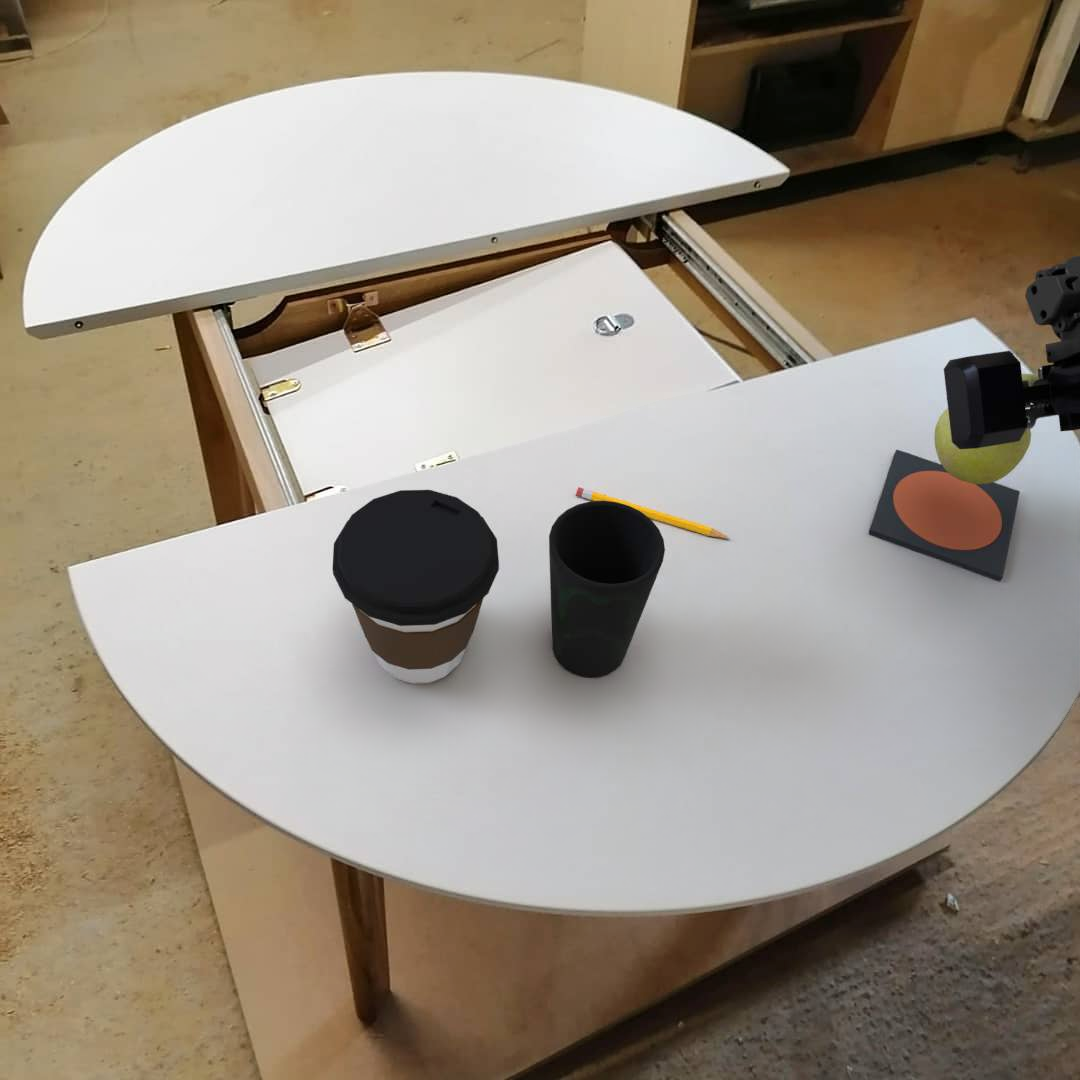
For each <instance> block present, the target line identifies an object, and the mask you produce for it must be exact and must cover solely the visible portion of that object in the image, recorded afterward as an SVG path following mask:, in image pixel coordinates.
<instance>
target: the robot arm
mask: <svg viewBox="0 0 1080 1080" xmlns="http://www.w3.org/2000/svg"><path fill="white" fill-rule="evenodd" d="M1034 279H1035V280H1034V281H1033V282H1032V283H1031V284H1029V285H1028V286H1027V287H1026V290H1025V294H1024V296H1025V300H1026V303H1027V305H1028V308H1029V310H1030V313H1031V315H1032V318H1033V321H1034V323H1035V324H1036V325H1038V326H1050V327H1051V329H1052V331H1053V333H1054V335H1055V336H1056V337H1057V338H1058V339H1059V340H1060V341H1055V342H1050V343H1045V353H1046V354H1045V355H1046V362H1047V363H1048V364H1046V365H1040V366H1038V368H1037V373H1038V377H1039V379H1037V380H1036V381H1035V382H1034V383H1033V385H1032V386H1029V384H1028V380H1024V381H1022V374H1023V373H1022V364H1021V361H1020V360H1019V359H1018V358H1017V357H1016V356H1015V355H1014V352H1012V351H1011V350H1005V351H998V352H997V351H996V352H990V353H989V352H988V353H984V354H976V355H969V356H963V357H958V358H954V359H949V361H948V362H947V364H946V365H945V366H944V368H943V375H944V377H943V378H944V385H945V393H946V402H947V408H948V412H949V421H950V429H951V438H952V443H953V444H954V445H955V446H957V447H958V448H959V449H974V448H982V447H988V446H994V445H1000V444H1006V443H1012V442H1018V441H1020V439H1021V438H1022V436H1023V434H1024V432H1025V431H1026V430H1029V429H1030V430H1031V429H1033V428H1034V427H1035V425H1036V423H1037V420H1038V419H1042V418H1049V417H1055V416H1058V422H1059V431H1060V432H1069V431H1077V430H1080V255H1076V256H1072V257H1069V258H1068V259H1066V260H1065V261H1064V262H1063V263H1056V264H1054V265H1053V266H1051V267H1050V268H1045V269H1039V270H1037V271H1036V273H1035V278H1034Z"/></svg>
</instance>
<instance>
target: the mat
mask: <svg viewBox="0 0 1080 1080" xmlns="http://www.w3.org/2000/svg"><path fill="white" fill-rule="evenodd" d="M894 451H895V452H894V454H893V456H892V461H891V463H890V466H889V469H888V472H887V475H886V478H885V481H884V484H883V488H882V491H881V494H880V496H879V500H878V502H877V506H876V509H875V512H874V515H873V518H872V521H871V524H870V527H869V530H868V532H867V533H868V535H870V536H873V537H875V538H878V539H881V540H884V541H887V542H889V543H892V544H895V545H897V546H901V547H903V548H906V549H909V550H912V551H914V552H917V553H919V554H923V555H925V556H927V557H931V558H933V559H937V560H940V561H942V562H945V563H947V564H951V565H953V566H955V567H959V568H961V569H964V570H967V571H969V572H970V571H971V572H972V573H976V574H978V575H981V576H984V577H986V578H989V579H992V580H995V581H998V582H1001V581H1002V579H1003V578H1004V573H1005V569H1006V563H1007V558H1008V553H1009V548H1010V542H1011V538H1012V532H1013V527H1014V522H1015V518H1016V512H1017V508H1018V502H1019V499H1020V498H1019V497H1020V492H1021V491H1020V490H1017V489H1015V488H1012V487H1009V486H1006V485H1003V484H1000V483H997V482H992V483H988V484H973V483H969V482H965V481H962V480H959V479H957V478H955V477H954V476H952V475H950V474H949V473H948V472H947V471H946V470H945V468H944V467H943V466H942V464H941V463H939V462H936V461H932V460H929V459H926V458H923V457H921V456H918V455H915V454H911V453H909V452H905V451H903V450H899V449H895V450H894Z"/></svg>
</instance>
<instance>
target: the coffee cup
mask: <svg viewBox="0 0 1080 1080" xmlns="http://www.w3.org/2000/svg"><path fill="white" fill-rule="evenodd" d="M498 547H499V546H498V539H497V537H496V535H495V534H494V532H493V531H492V529H491V527H490V525H488V523H487V521H486V520H485V518H484V517H483V516H482V515H481V514H480V512H479V511H477V509H475V508H473V507H472V506H471V505H469V504H468V503H466V502H465V501H463V500H462V499H460V498H459V497H457V496H454V495H451V494H446V493H444V492H438V491H436V490H432V489H402V490H401V489H400V490H397V491H394V492H391V493H387V494H385V495H381V496H378V497H376V498H372V499H371V500H370V501H368V502H367V503H366V504H364V505H363V506H361V507H360V508H359V509H358V510H356V511H355V512H354V513H351V515H350V516H349V518H348V519H347V521H346V523H344V526H343V527H342V529H341V531H340V532H339V534H338V536H337V537H336V539H335V541H334V543H333V549H332V550H333V552H332V575H333V577H334V579H335V581H336V583H337V585H338V587H339V589H340V592H341V594H342V595H343V598H344V599H345V600H346V601H348V602H349V603H350V604H351V605H352V607H353V610H354V612H355V615H356V617H357V620H358V622H359V625H360V628H361V631H362V632H363V635H364V637H365V639H366V642H367V643H368V646H369V648H370V649H371V651H372V652H373V654H374V656H375V658H376V660H377V662H378V664H379V666H380V667H381V668H382V669H383V670H385V671H386V672H387V673H388V674H390V676H392V677H394V678H395V679H396V680H398V681H402V682H405V683H409V684H411V685H417V684H419V685H420V684H431V683H434V682H436V681H438V680H441V679H443V678H445V677H446V676H447V675H449V674H450V673H451V672H452V671H453V670H454V669H455V668H456V667H457V666H459V664H460V663H461V661H462V659H463V656H464V654H465V652H466V650H467V647H468V645H469V643H470V640H471V638H472V636H473V634H474V631H475V628H476V625H477V621H478V618H479V615H480V611H481V608H482V605H483V601H484V598H485V597H486V596H487V595H488V594H489V593H490V590H491V588H492V586H493V584H494V582H495V580H496V577H497V574H498V572H499V569H500V560H499V548H498Z"/></svg>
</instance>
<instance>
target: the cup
mask: <svg viewBox="0 0 1080 1080" xmlns="http://www.w3.org/2000/svg"><path fill="white" fill-rule="evenodd" d="M548 545H549V546H548V549H549V553H548V554H549V583H550V585H549V586H550V589H549V590H550V619H551V620H550V621H551V650H552V654H553V657H554V658H555V660H556V661H557V663H558V664H559V665H560V666H561V667H562V668H563V669H564V670H565V671H567V672H568V673H570V674H572V675H575V676H578V677H581V678H588V679H595V678H596V679H597V678H602V677H606V676H608V675H610V674H612V673H613V672H615V671H616V670H618V668H619V667H621V665H622V663H623V661H624V660H625V659H626V658H625V657H626V655H627V653H628V650H629V647H630V645H631V642H632V640H633V637H634V635H635V632H636V630H637V627H638V625H639V622H640V620H641V617H642V615H643V612H644V610H645V607H646V605H647V602H648V600H649V597H650V594H651V592H652V590H653V587H654V584H655V583H656V579H657V578H658V575H659V572H660V570H661V567H662V564H663V562H664V558H665V552H666V549H665V547H666V546H665V541H664V537H663V535H662V532H661V531H660V529H659V527H658V526H657V525H656V523H655V522H654V521H653V519H651V518H648V517H647V516H646V515H645V514H643V513H642V512H640V511H638V510H637V509H635V508H633V507H631V506H628V505H625V504H621V503H618V502H612V501H592V500H589V501H586V502H582V503H579V504H576V505H574V506H572V507H570V508H567V509H565V511H564V512H562V513H561V514H560V515H559V516H558V517H557V518H556V519H555V520H554V522H553V524H552V525H551V528H550V532H549V535H548Z"/></svg>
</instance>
